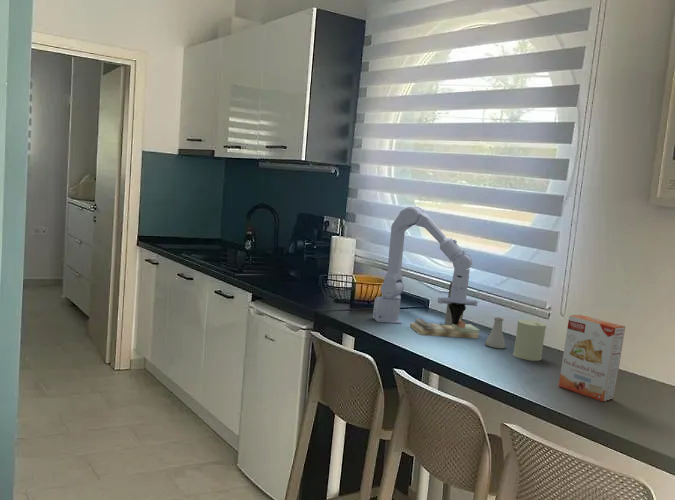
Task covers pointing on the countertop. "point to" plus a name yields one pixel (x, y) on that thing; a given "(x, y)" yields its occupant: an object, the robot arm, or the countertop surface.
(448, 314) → the coffee box
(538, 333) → the can
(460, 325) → the stub
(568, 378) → the cracker box
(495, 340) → the flask
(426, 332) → the ticket board
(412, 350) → the countertop surface
